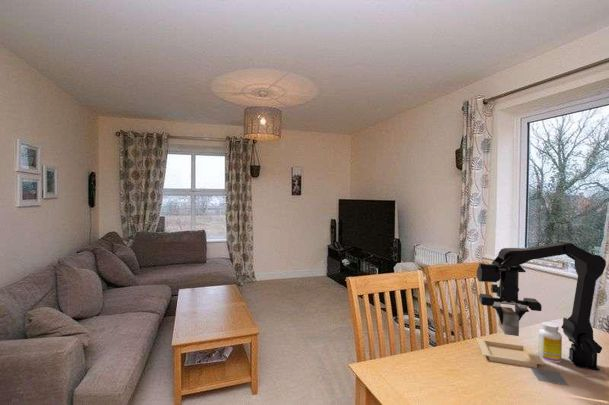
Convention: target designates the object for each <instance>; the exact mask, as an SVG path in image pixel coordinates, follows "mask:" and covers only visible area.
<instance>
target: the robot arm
mask: <svg viewBox="0 0 609 405" xmlns="http://www.w3.org/2000/svg"><path fill="white" fill-rule="evenodd" d="M563 255H564V256H567V257H568V258H570V259H572V260H573V261H574V269H575V272H576V274H577V280H576V287H575V292H574V293H575V294H574V299H573V305H572V311H571V315H570V316H569V317H568V318H567V317H563V318H562V325H561V327H560V328H561V329H562V332H563V334H564V335H565V336H566V337H567V339H568V341H569V342H571V343H570V344H571V345H570V347H569V350H568V353H569V354H568V355H569V356H568V359H569V360H570V362H571V363H572V364H573V365H574V366H576V367H577V368H583V369H591V370H596V371H600V370H601V369H600V367H599V366H598V354H601V352H602V350H603V347H602V346H601V345H600V344H599V343H598V342H597V341H596V340H594V339H595V337H594V329H593V326H592V323H591V314H592V308H593V302H594V296H595V291H596V283H597V281H598V279H599V278H600V277H601V276H602V275H603V274H604V272H605V269H606V266H607V261H606V260H605V258H604V257H603V256H601V255H598V254H595V253H591V252H589V251H586V250H585V249H582V248H581V247H579V246H577V245H575V243H571V242H568V241H560V242H556V243H555V242H554V243H549V244H544V245H543V244H542V245H537V246H533V247H532V246H531V247H527V248H525V247H523V248H521V247H503V248H501V249H500V250H499V252H498V255H497V256H496V258H495V259H494V260H493V261H492V262H491V263H483V262H479V263H478V266H477V269H476V278H477V281H478V282H482V283H485V282H486V283H490V284H491V283H492V284H491V286H490V292H491V293H492V294H496V296H497V297H493V296H492V295H491V294H490V293H480V294H479V295H478V301H479V303H480V304H481V305H482V306H488V307H492V309H494V310H495V312H496V314H497V317H498V321H499V320H500V323H501V324H503V313H502V307H503V306H502V305H501V304H503V305H512V306H514V312H515V313H516V314H518V316H519V322H520V320H521V319H522V318H523V316H524V315H525V314H526V313H529V312H530V310H531V311H535V312H542V307H543V306H542V304H541V302H539V301H538V300H537V299H536V298H532V297H531V298H530V297H523V299H522V300H521V299H519V292H520V288H519V279H520V278H519V276H520V273H526V269H524V268H523V267H522V265H523V264H526V263H527V262H529V261H533V260H538V259H544V258H545V259H546V258H551V257H556V256H563ZM498 282H499V286H498V284H493V283H498Z"/></svg>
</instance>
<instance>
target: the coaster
mask: <svg viewBox="0 0 609 405" xmlns="http://www.w3.org/2000/svg"><path fill="white" fill-rule="evenodd" d="M529 369H531V371H532V373H533V374H534V376H536V379H537V380H538V381H539V382H545V383H552V384H555V385H556V384H558V385H564V386H568V387H570V386H571V385H570V384H569V383H568V382H567V381H566V379H565V377H563V375H562V374H561V373H560V371H557V370H556V371H555V370H550V369H543V368H538V367H537V368H534V367H529Z"/></svg>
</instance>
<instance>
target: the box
mask: <svg viewBox="0 0 609 405" xmlns="http://www.w3.org/2000/svg"><path fill="white" fill-rule="evenodd" d="M501 307H502V313H503V324H501V323H500V320H499V319H498V326H499V327H500V329H501V330H502V332H503V334H504V335H508V336H515V337H519V335H520V334H519V333H520V321H519V316H518V314H516V313H515V309H513V308H512V307H508V306H507V307H506V306H501Z"/></svg>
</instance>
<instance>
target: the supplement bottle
mask: <svg viewBox="0 0 609 405" xmlns="http://www.w3.org/2000/svg"><path fill="white" fill-rule="evenodd" d="M541 326H542V328H540V329H539V330H538V347H537V348H538V350H537V351H538V352H537V355H538V357H539V358H540V359H541V360H544V361H546V362H550V363H554V364H555V363H561V362H562V353H563V352H562V347H563V345H562V343H563V340H562V339H563V336H562V334H561V333H560V332H559V330H560V329H559V325H558V324H556V323H553V322H550V321H543V322H542V323H541Z"/></svg>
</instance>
